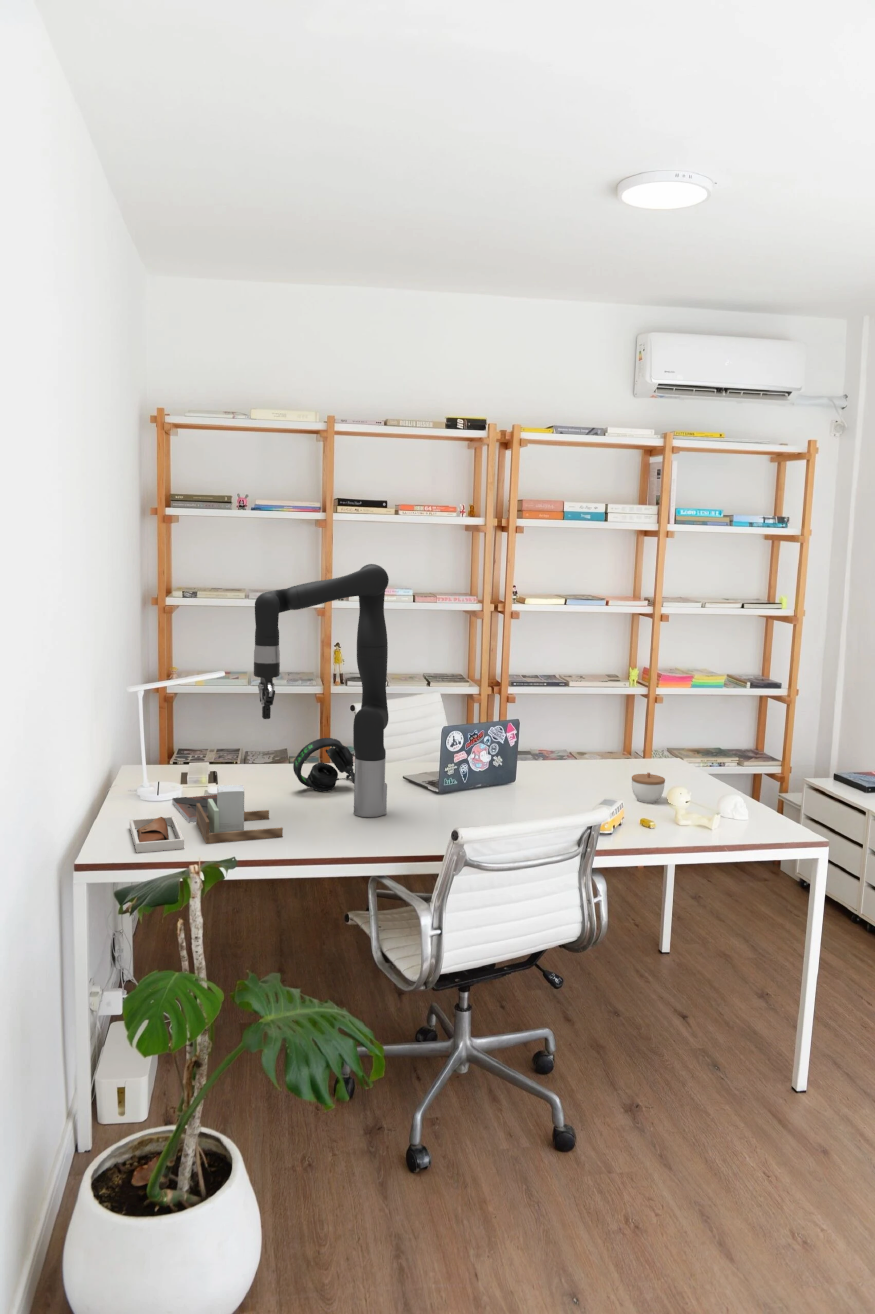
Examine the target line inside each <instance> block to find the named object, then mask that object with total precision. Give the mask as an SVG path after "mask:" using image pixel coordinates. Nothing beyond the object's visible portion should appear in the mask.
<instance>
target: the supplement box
mask: <svg viewBox="0 0 875 1314" xmlns="http://www.w3.org/2000/svg"><path fill="white" fill-rule="evenodd" d="M216 794H217V808H218V809H219V833H220V832H232V831H244V830H245V821H244V811H245V788H244V784H231V785H230V784H229V785H228V784H224V785H218V786H217V793H216Z"/></svg>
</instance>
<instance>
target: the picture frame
mask: <svg viewBox="0 0 875 1314" xmlns="http://www.w3.org/2000/svg"><path fill="white" fill-rule="evenodd" d="M208 799H213V801H214V803H215V804H216V806H217V793H216V794H207V795H199V796H182V797H172V799H171V800H172V801H171V802H172V803H173V804H174V805H175V806H174V805H173V804H172V805H173V806H174V808H176V810H177V809H178V810H179V811H180V812H179V811H178V810H177V811H178V812H179V813H180V815H182V817H183V818H184V817H185V818H186V819H185V818H184V819H185V820H186V821H187V822H188V823H189V824H190V822H193V823H196V803H199V804H200V805H201V807H202V809H203V811H204V813H205V815H208ZM244 812H246V811H245V810H244Z"/></svg>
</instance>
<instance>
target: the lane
mask: <svg viewBox="0 0 875 1314" xmlns="http://www.w3.org/2000/svg"><path fill="white" fill-rule="evenodd" d="M269 819H270V810H269V809H263V810H262V809H261V810H251V811H250V810H249V811H245V812H244V822H246V821H248V820H249V821H260V820H269ZM195 823H196V826H197V828H198V830H199V832H200V833H201V836H202V838H203V840H204V842H205V844H214V843H215V844H216V843H226V842H227V843H230V842H239V841H250V840H263V839H265V840H266V839H273V838H274V839H276V838H283V835H284V834H283V830H284V828H283V827H282V826H281V827H270V828H258V829H247V830H245V829H244V831H232V832H220V833H211V832H210V830H209V820H208V815H205V813H204V811H203V809H202V807H201V805H200V804H199V803H196V822H195Z"/></svg>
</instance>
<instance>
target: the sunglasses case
mask: <svg viewBox="0 0 875 1314" xmlns="http://www.w3.org/2000/svg"><path fill="white" fill-rule="evenodd" d="M158 817H159V816H158ZM158 817H156V818H157V819H155V820H154V821H152V822H151V823H150V824H148V825H145V826H143V827H141V828H137V829H136V833H137V836H138V840H139V842H150V841H162V840H170V837H169V829H168V827H169V826H167V823H166V820H165V819H164V818H163V817H164V816H160V817H159V818H158Z"/></svg>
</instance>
